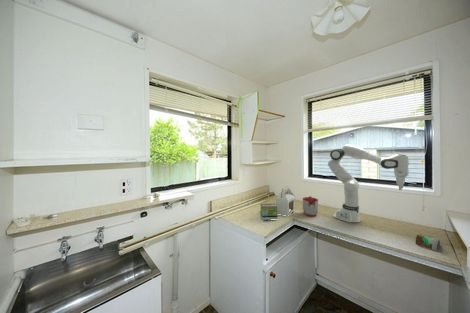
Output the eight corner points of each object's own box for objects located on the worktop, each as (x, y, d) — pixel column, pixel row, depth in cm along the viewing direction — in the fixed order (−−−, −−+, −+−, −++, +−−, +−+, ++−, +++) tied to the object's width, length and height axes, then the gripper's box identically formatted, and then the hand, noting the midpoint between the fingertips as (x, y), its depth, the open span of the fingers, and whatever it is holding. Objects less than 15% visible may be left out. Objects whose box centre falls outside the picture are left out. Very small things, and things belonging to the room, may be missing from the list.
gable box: (287, 217, 176) (287, 190, 175) (275, 214, 184) (275, 188, 183) (294, 210, 194) (294, 186, 193) (283, 208, 202) (283, 185, 201)
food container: (419, 231, 128) (440, 236, 119) (419, 239, 128) (440, 245, 119) (414, 235, 121) (436, 241, 113) (414, 244, 121) (436, 251, 113)
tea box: (262, 221, 167) (262, 206, 167) (260, 217, 177) (260, 203, 177) (277, 220, 167) (277, 206, 167) (274, 216, 177) (274, 202, 177)
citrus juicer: (303, 217, 174) (303, 198, 173) (301, 211, 191) (301, 194, 190) (320, 218, 170) (320, 199, 169) (316, 212, 187) (316, 194, 186)
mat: (419, 246, 119) (419, 245, 119) (420, 238, 129) (420, 237, 129) (442, 252, 111) (442, 252, 111) (441, 243, 122) (441, 243, 122)
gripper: (397, 171, 154) (397, 186, 154) (394, 174, 141) (394, 190, 141) (407, 172, 149) (407, 187, 150) (405, 174, 136) (405, 191, 136)
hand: (400, 189), depth 145 cm, fingers open, 8 cm apart
